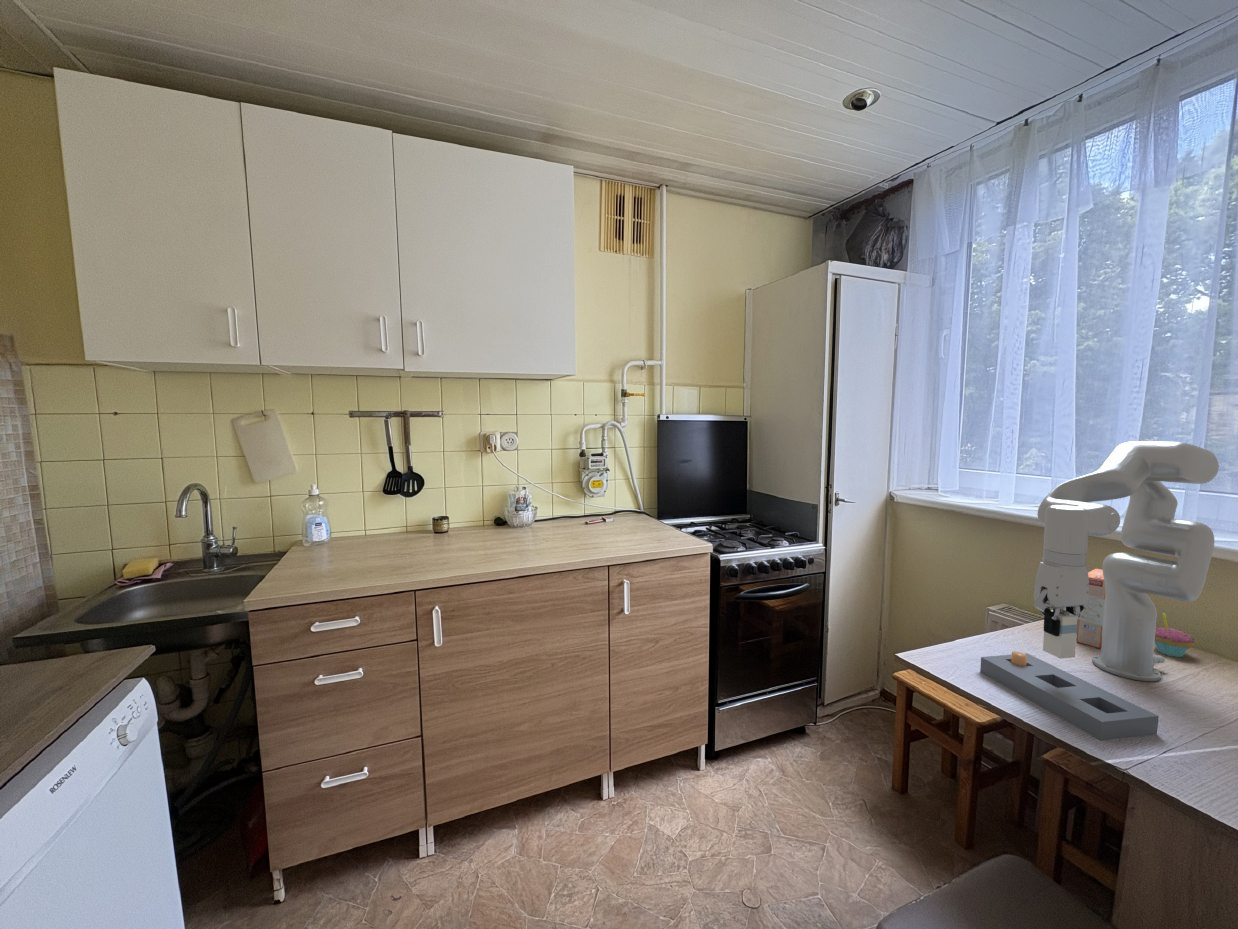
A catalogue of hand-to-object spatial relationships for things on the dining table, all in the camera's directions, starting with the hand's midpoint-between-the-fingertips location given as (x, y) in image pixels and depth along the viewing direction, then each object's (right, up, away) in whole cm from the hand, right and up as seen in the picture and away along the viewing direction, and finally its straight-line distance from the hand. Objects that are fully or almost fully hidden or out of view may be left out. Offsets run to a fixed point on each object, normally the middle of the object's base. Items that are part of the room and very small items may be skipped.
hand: (1060, 632), depth 113 cm
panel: (0, -17, 0) cm, 16 cm away
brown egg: (-2, -15, +10) cm, 18 cm away
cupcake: (+54, -15, +24) cm, 61 cm away
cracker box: (+41, -14, +32) cm, 54 cm away
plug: (0, -5, 0) cm, 5 cm away
